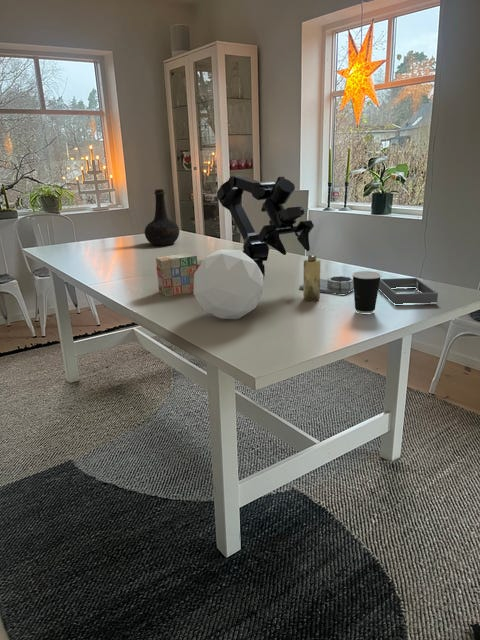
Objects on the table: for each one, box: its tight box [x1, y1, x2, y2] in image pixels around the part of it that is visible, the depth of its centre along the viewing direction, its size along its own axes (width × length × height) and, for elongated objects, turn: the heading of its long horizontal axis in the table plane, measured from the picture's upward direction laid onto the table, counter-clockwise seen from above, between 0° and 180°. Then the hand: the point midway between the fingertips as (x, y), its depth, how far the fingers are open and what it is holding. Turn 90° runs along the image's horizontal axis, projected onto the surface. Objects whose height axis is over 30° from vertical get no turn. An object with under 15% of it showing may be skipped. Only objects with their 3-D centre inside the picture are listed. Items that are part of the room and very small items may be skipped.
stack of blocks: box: [155, 252, 204, 297], centre depth 163 cm, size 21×6×12 cm, turn 116°
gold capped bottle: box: [302, 254, 321, 302], centre depth 148 cm, size 5×5×14 cm
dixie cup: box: [351, 270, 383, 313], centre depth 134 cm, size 8×8×11 cm
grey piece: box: [299, 275, 354, 295], centre depth 161 cm, size 16×12×4 cm
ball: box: [193, 249, 264, 320], centre depth 133 cm, size 19×20×20 cm
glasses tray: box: [379, 277, 439, 304], centre depth 148 cm, size 12×18×4 cm
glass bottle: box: [144, 188, 180, 246], centre depth 249 cm, size 18×18×28 cm
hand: (297, 252), depth 152 cm, fingers open, 9 cm apart
